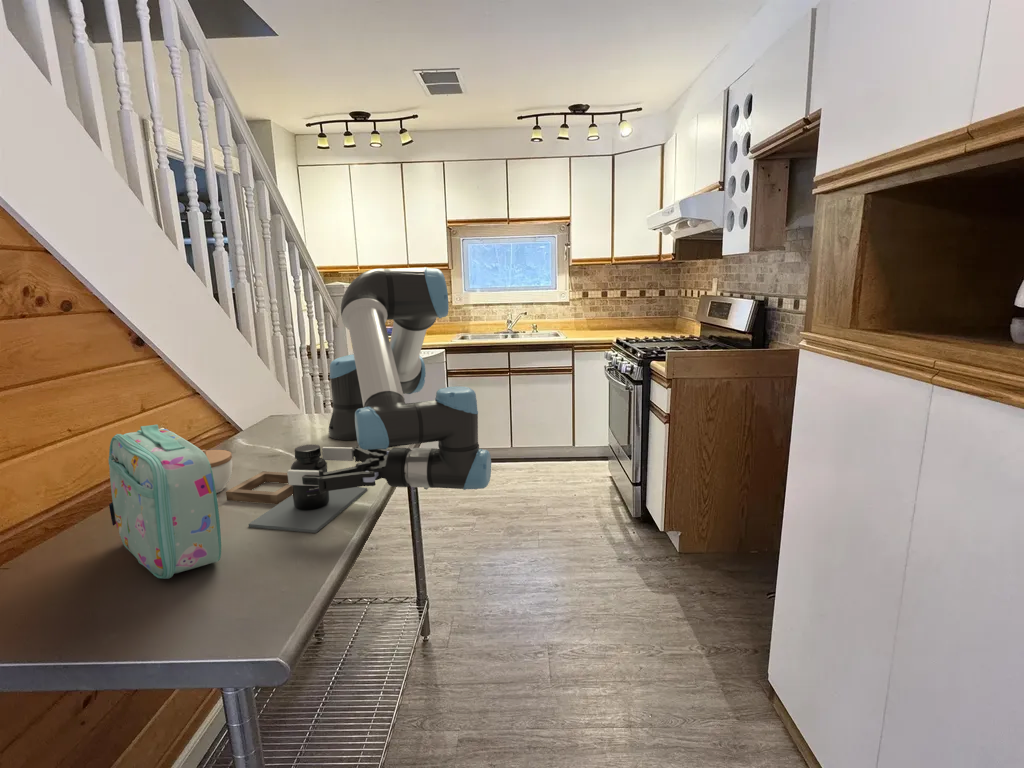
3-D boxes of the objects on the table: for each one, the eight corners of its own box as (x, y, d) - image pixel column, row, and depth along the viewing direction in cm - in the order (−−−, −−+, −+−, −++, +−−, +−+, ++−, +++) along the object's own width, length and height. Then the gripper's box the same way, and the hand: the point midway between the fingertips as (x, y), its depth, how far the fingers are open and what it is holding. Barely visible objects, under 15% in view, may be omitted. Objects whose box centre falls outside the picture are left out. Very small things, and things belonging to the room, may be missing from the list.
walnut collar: (264, 479, 124) (263, 471, 123) (310, 482, 121) (309, 474, 121) (226, 500, 112) (225, 491, 112) (277, 504, 110) (276, 495, 109)
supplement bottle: (318, 512, 104) (312, 454, 102) (287, 510, 105) (280, 452, 103) (336, 498, 111) (331, 443, 108) (306, 496, 112) (301, 441, 110)
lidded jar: (173, 491, 117) (167, 451, 116) (225, 478, 125) (220, 439, 123) (189, 505, 110) (183, 462, 108) (243, 489, 118) (238, 449, 116)
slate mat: (309, 486, 119) (309, 483, 119) (367, 490, 116) (367, 487, 116) (248, 526, 100) (248, 523, 100) (316, 533, 97) (315, 529, 97)
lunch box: (110, 541, 95) (89, 426, 91) (174, 521, 103) (157, 413, 99) (162, 596, 79) (139, 457, 74) (234, 566, 86) (217, 439, 82)
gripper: (389, 513, 92) (274, 509, 94) (429, 463, 116) (336, 461, 119) (386, 472, 90) (269, 468, 93) (427, 430, 114) (333, 428, 117)
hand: (307, 464), depth 106 cm, fingers open, 13 cm apart
